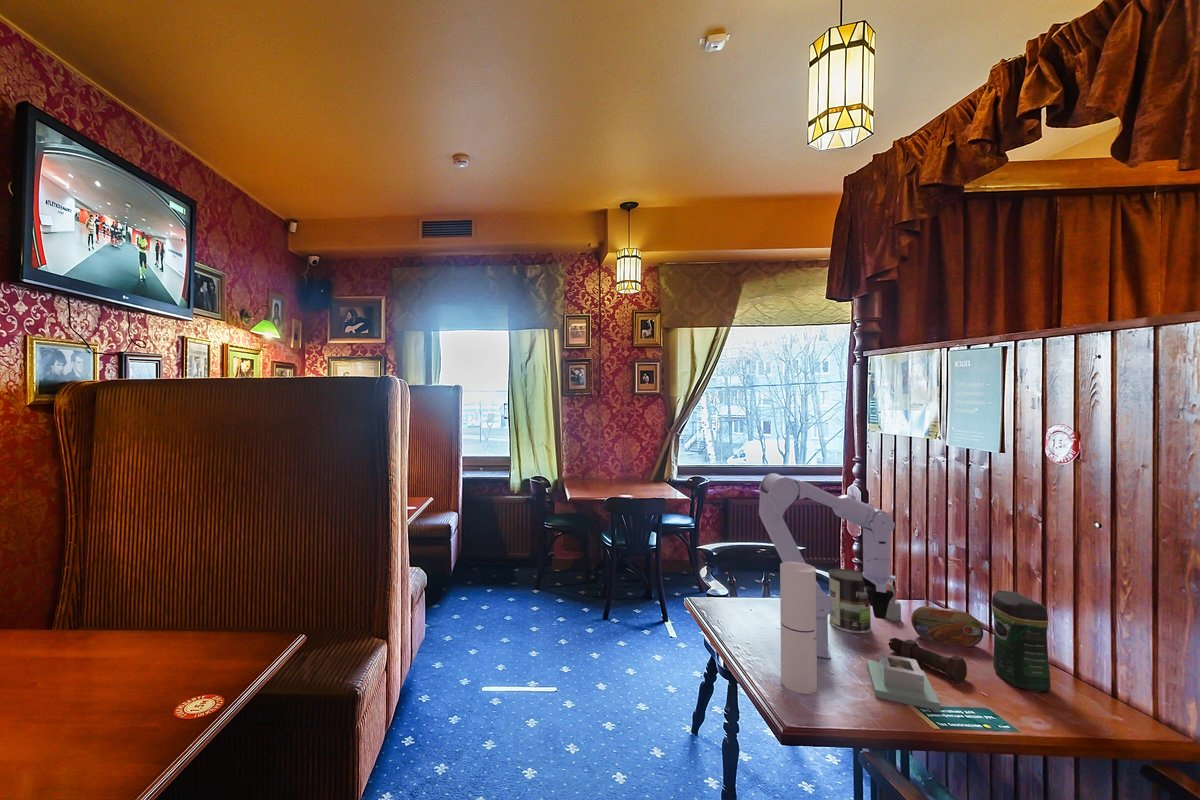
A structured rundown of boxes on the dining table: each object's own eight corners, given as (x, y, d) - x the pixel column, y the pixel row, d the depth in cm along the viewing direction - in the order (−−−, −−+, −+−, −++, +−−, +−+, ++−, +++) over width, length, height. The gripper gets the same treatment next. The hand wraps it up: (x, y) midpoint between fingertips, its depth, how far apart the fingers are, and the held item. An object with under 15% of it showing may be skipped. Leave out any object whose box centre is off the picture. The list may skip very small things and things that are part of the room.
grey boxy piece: (884, 685, 95) (883, 668, 96) (878, 668, 102) (878, 652, 102) (924, 693, 93) (923, 676, 93) (916, 676, 99) (915, 659, 99)
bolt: (894, 658, 113) (964, 688, 100) (882, 651, 111) (952, 681, 98) (900, 634, 115) (969, 661, 101) (888, 628, 113) (958, 654, 100)
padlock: (873, 610, 137) (873, 577, 137) (886, 610, 137) (886, 577, 137) (889, 621, 130) (889, 585, 130) (903, 621, 130) (902, 585, 130)
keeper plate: (875, 697, 94) (875, 677, 94) (866, 666, 106) (866, 648, 106) (940, 711, 89) (939, 690, 90) (923, 677, 101) (923, 658, 101)
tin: (913, 639, 119) (912, 606, 120) (910, 633, 122) (909, 602, 123) (984, 650, 114) (983, 616, 114) (979, 644, 117) (978, 611, 117)
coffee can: (879, 628, 125) (878, 576, 126) (857, 637, 120) (856, 583, 120) (843, 614, 134) (842, 566, 135) (821, 622, 129) (820, 571, 129)
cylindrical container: (773, 678, 100) (772, 563, 101) (797, 671, 103) (796, 560, 104) (799, 697, 94) (798, 573, 95) (824, 689, 96) (823, 569, 98)
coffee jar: (1059, 696, 95) (1056, 605, 96) (1015, 691, 96) (1013, 602, 97) (1026, 671, 104) (1023, 589, 105) (986, 667, 106) (984, 586, 107)
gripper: (901, 567, 106) (902, 627, 105) (889, 551, 119) (890, 604, 118) (866, 563, 109) (867, 621, 108) (858, 548, 122) (859, 599, 121)
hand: (877, 612), depth 113 cm, fingers open, 7 cm apart
